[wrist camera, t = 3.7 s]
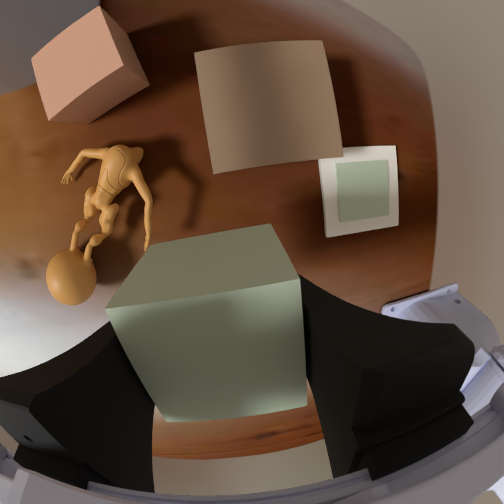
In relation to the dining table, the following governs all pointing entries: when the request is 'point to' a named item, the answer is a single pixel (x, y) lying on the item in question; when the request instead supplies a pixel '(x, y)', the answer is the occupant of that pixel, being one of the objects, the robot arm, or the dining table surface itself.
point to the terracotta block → (87, 69)
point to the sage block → (215, 325)
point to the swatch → (360, 190)
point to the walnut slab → (268, 104)
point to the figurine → (110, 184)
